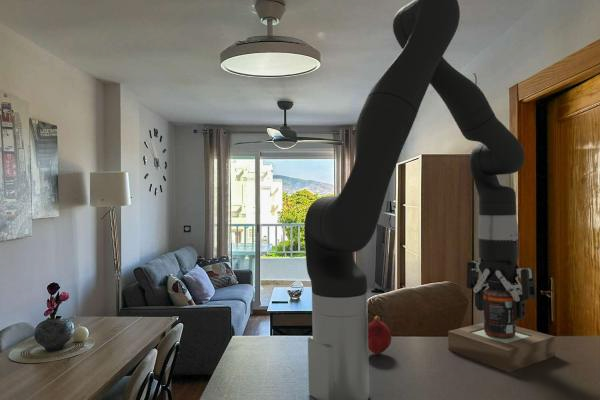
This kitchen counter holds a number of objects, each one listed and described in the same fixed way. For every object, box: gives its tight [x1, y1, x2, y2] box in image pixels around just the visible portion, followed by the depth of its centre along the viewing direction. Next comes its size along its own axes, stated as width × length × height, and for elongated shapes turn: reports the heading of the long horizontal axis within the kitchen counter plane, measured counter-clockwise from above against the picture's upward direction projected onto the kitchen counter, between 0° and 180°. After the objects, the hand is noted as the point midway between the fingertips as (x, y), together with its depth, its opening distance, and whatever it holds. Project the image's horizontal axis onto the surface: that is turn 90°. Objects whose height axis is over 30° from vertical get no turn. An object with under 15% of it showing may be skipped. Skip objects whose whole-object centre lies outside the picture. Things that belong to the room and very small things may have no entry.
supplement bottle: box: [483, 280, 517, 338], centre depth 88 cm, size 6×6×11 cm
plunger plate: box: [473, 330, 529, 343], centre depth 88 cm, size 8×8×1 cm
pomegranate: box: [368, 315, 392, 356], centre depth 88 cm, size 6×6×8 cm
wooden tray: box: [447, 322, 556, 373], centre depth 88 cm, size 15×14×4 cm
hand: (499, 314), depth 88 cm, fingers open, 8 cm apart
